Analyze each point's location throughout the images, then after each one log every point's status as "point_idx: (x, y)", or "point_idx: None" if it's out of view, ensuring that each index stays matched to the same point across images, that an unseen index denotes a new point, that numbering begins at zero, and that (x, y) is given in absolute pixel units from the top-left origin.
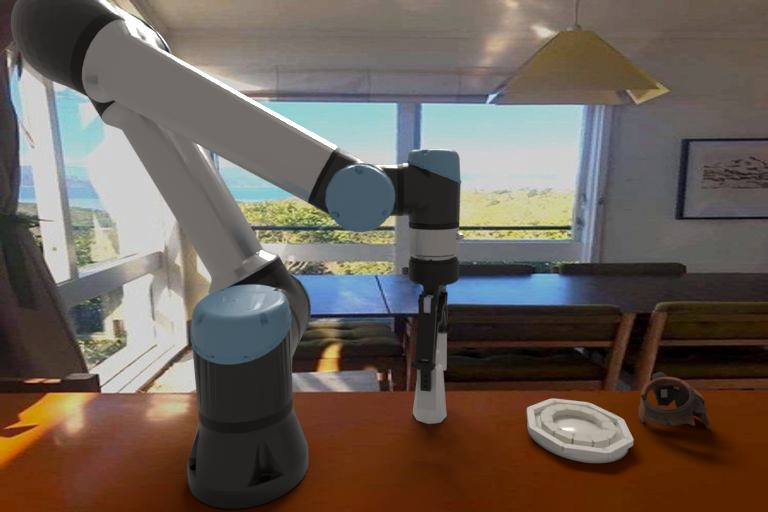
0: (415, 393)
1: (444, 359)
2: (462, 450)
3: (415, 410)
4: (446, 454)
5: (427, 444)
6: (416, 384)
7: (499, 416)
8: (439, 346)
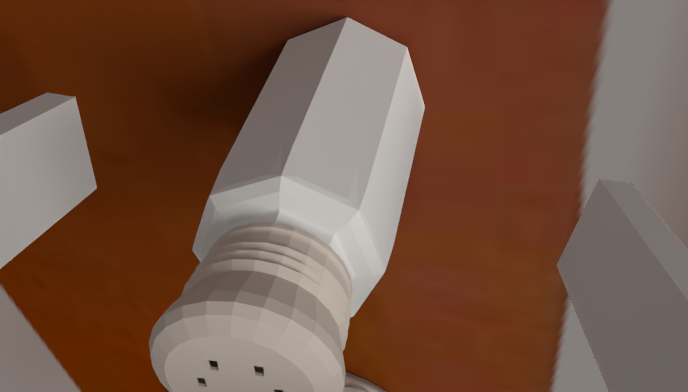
0: (324, 62)
1: (584, 314)
2: (145, 199)
3: (309, 41)
4: (102, 151)
5: (130, 89)
6: (313, 88)
7: (371, 320)
8: (650, 379)
